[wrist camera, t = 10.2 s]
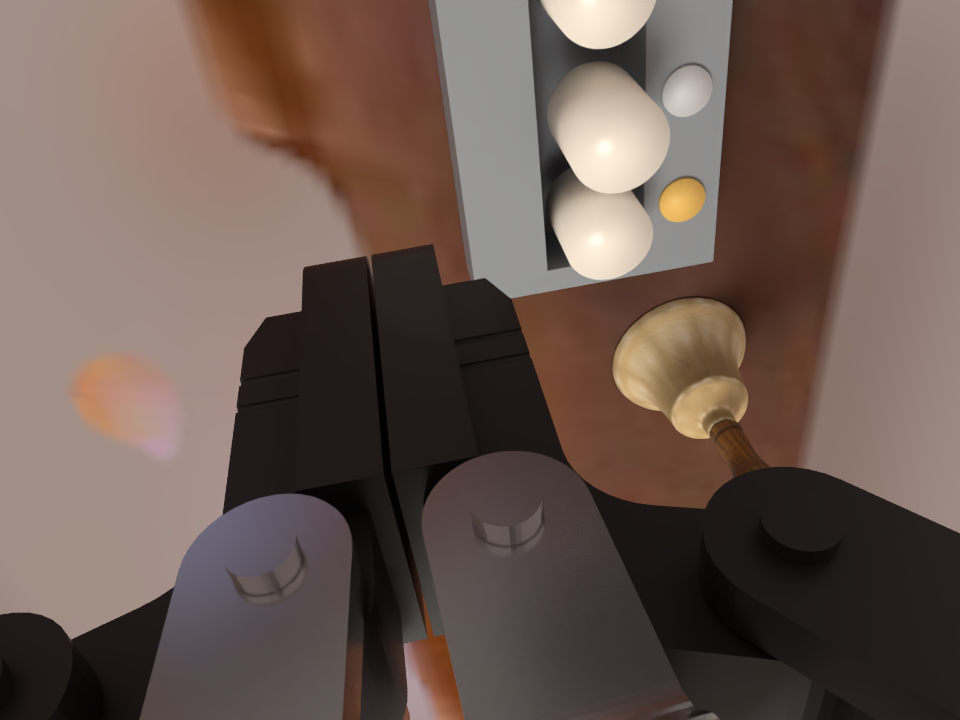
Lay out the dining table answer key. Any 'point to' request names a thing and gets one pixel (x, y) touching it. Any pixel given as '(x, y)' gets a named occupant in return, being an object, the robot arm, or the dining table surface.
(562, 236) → the button
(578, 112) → the button middle
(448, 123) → the console
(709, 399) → the hand bell
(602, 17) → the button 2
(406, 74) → the dining table surface
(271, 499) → the robot arm
